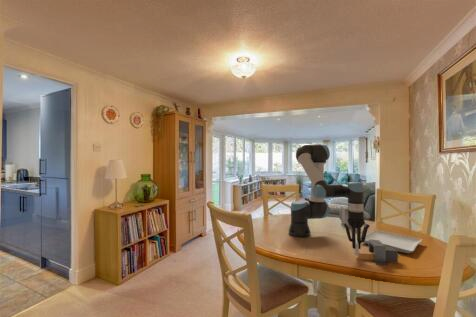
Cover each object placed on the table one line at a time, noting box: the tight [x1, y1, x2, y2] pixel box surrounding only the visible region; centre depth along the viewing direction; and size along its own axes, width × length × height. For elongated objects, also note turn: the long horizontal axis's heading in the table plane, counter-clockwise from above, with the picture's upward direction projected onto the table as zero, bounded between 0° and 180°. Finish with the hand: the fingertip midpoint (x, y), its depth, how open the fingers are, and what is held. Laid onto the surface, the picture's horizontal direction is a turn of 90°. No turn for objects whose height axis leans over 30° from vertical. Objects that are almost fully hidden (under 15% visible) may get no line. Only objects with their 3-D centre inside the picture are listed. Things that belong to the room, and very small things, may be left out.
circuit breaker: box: [338, 206, 352, 229], centre depth 183 cm, size 8×14×15 cm, turn 174°
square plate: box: [363, 229, 423, 254], centre depth 142 cm, size 27×27×4 cm
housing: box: [368, 240, 389, 266], centre depth 120 cm, size 5×13×9 cm, turn 167°
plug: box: [357, 247, 401, 264], centre depth 120 cm, size 19×5×6 cm, turn 76°
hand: (356, 254), depth 122 cm, fingers closed
